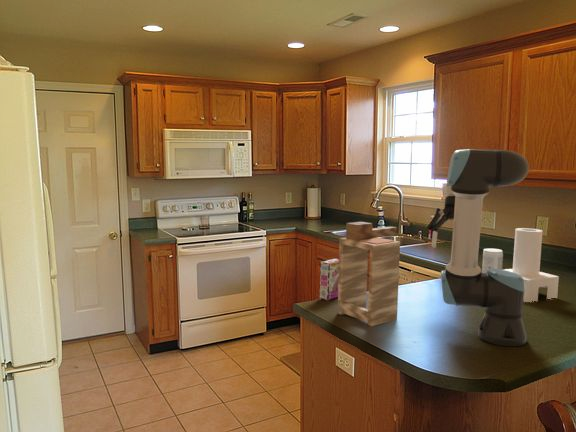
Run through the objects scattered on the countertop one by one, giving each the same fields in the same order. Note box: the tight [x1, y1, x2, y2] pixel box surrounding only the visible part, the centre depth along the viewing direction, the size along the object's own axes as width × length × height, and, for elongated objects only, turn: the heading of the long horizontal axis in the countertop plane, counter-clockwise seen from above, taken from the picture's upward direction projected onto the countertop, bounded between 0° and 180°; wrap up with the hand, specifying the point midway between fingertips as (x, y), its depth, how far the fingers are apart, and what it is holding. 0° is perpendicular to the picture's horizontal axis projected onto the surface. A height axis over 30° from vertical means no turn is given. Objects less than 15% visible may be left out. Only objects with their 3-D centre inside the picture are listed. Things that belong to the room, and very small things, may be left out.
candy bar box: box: [319, 258, 339, 302], centre depth 209 cm, size 11×5×16 cm, turn 141°
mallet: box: [345, 221, 398, 241], centre depth 189 cm, size 24×6×6 cm, turn 127°
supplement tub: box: [481, 247, 504, 273], centre depth 248 cm, size 10×10×15 cm
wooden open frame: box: [337, 237, 401, 327], centre depth 184 cm, size 18×14×30 cm
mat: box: [360, 237, 396, 244], centre depth 179 cm, size 8×10×1 cm
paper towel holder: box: [504, 227, 560, 303], centre depth 216 cm, size 19×19×30 cm
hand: (449, 247), depth 194 cm, fingers open, 13 cm apart
